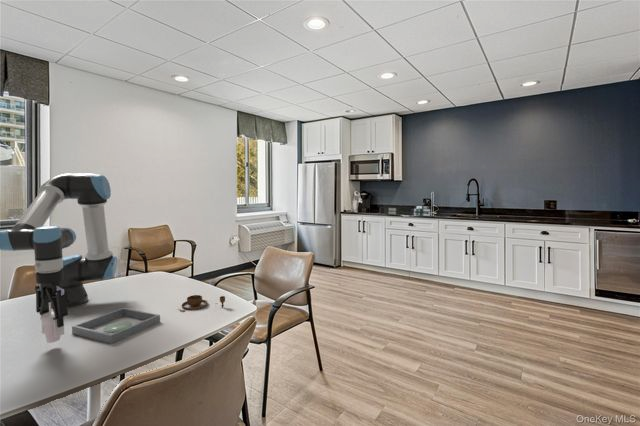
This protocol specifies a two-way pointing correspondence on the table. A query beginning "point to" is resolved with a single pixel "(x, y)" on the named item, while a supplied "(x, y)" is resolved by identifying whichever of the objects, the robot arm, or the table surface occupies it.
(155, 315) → the grey square frame
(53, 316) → the smoothie
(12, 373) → the table surface
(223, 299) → the place setting
